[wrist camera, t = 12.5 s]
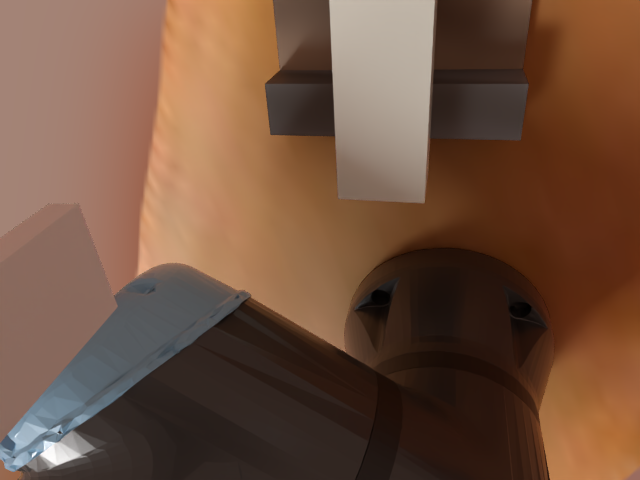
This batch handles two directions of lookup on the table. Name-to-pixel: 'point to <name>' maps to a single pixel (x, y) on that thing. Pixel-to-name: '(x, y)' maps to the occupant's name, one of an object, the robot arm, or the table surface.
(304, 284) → the table surface
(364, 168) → the clay strip
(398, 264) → the robot arm
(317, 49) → the dark grey rimmed tray
